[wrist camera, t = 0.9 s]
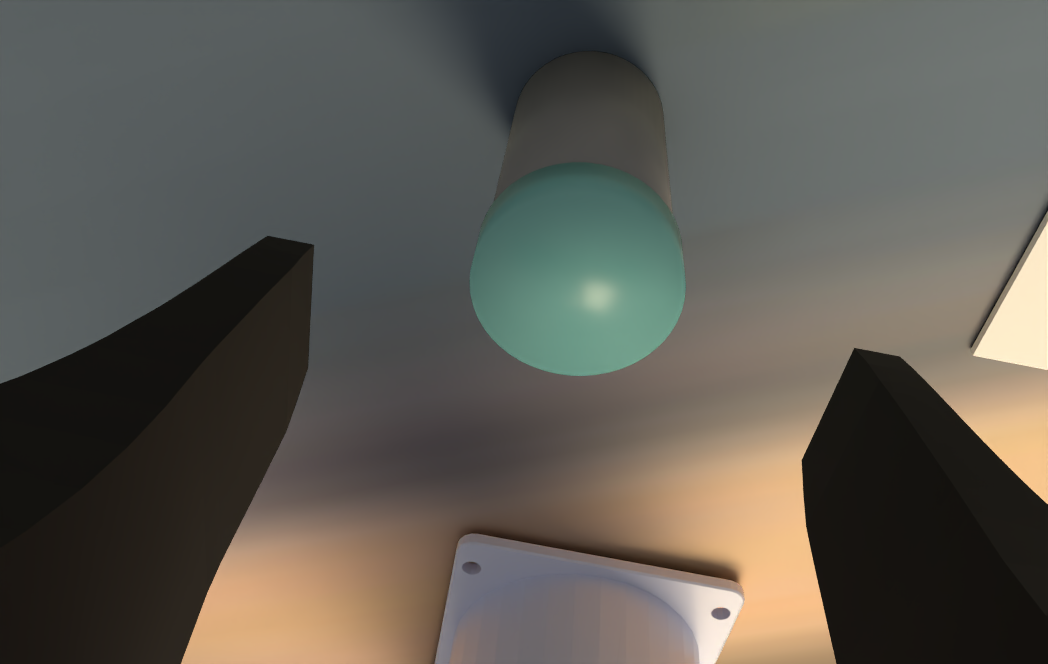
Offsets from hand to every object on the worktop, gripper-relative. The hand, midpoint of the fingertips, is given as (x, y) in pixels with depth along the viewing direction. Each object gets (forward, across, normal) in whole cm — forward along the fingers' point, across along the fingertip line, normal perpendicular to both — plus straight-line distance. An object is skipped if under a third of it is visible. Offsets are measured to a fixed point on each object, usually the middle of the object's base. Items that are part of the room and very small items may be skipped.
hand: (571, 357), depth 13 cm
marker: (+8, 0, 0) cm, 8 cm away
